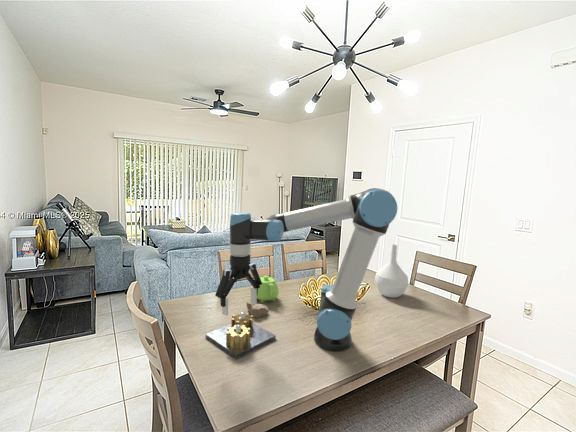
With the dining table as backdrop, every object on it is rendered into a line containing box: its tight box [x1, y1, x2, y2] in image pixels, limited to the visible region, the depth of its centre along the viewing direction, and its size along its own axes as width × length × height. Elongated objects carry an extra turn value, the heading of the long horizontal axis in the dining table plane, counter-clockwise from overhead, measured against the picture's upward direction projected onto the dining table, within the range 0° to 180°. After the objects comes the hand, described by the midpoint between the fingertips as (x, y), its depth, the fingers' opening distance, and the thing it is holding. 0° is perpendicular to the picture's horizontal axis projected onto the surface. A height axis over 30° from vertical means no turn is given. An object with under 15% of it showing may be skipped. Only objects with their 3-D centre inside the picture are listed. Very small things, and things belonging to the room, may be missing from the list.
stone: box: [246, 302, 270, 318], centre depth 147 cm, size 9×11×5 cm
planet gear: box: [226, 325, 250, 349], centre depth 117 cm, size 9×9×5 cm
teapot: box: [257, 275, 279, 304], centre depth 163 cm, size 20×13×13 cm
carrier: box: [205, 311, 277, 360], centre depth 123 cm, size 20×20×8 cm
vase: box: [374, 244, 409, 299], centre depth 176 cm, size 18×18×30 cm
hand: (239, 308), depth 115 cm, fingers open, 13 cm apart
